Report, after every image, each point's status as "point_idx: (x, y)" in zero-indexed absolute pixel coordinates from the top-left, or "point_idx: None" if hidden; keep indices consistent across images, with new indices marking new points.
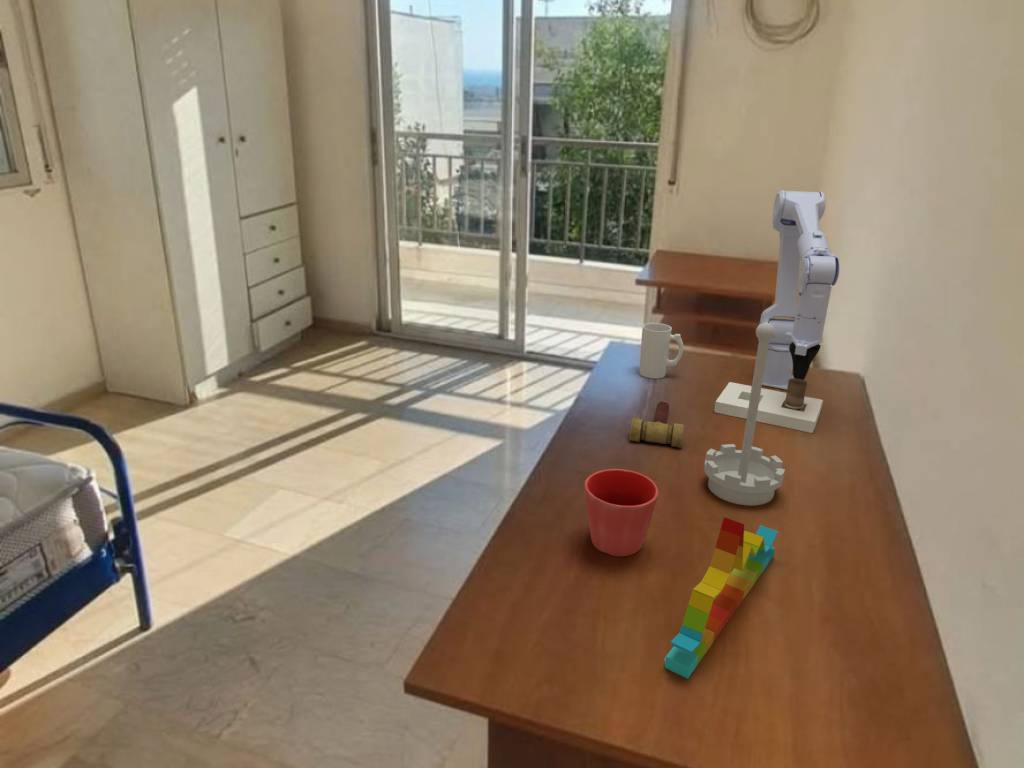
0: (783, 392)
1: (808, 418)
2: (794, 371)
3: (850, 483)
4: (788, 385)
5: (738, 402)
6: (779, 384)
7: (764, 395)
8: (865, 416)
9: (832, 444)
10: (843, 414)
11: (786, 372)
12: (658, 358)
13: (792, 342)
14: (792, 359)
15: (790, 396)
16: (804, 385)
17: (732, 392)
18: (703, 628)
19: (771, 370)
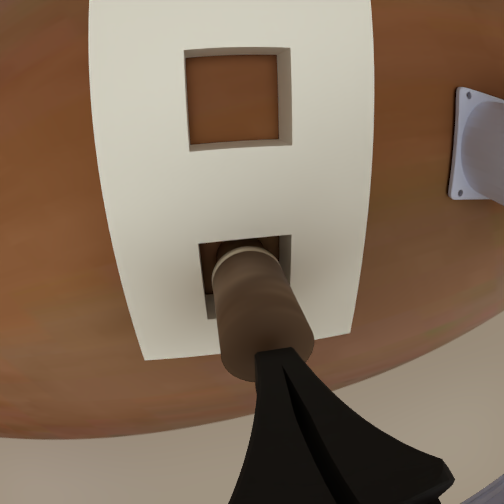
0: (366, 212)
1: (157, 342)
2: (257, 385)
3: (3, 403)
4: (242, 305)
5: (133, 71)
6: (464, 169)
7: (295, 149)
8: (341, 384)
9: (119, 376)
10: (334, 354)
11: (498, 197)
12: None
13: (428, 492)
14: (246, 453)
15: (217, 296)
16: (243, 376)
17: (248, 12)
18: None
19: (498, 148)
